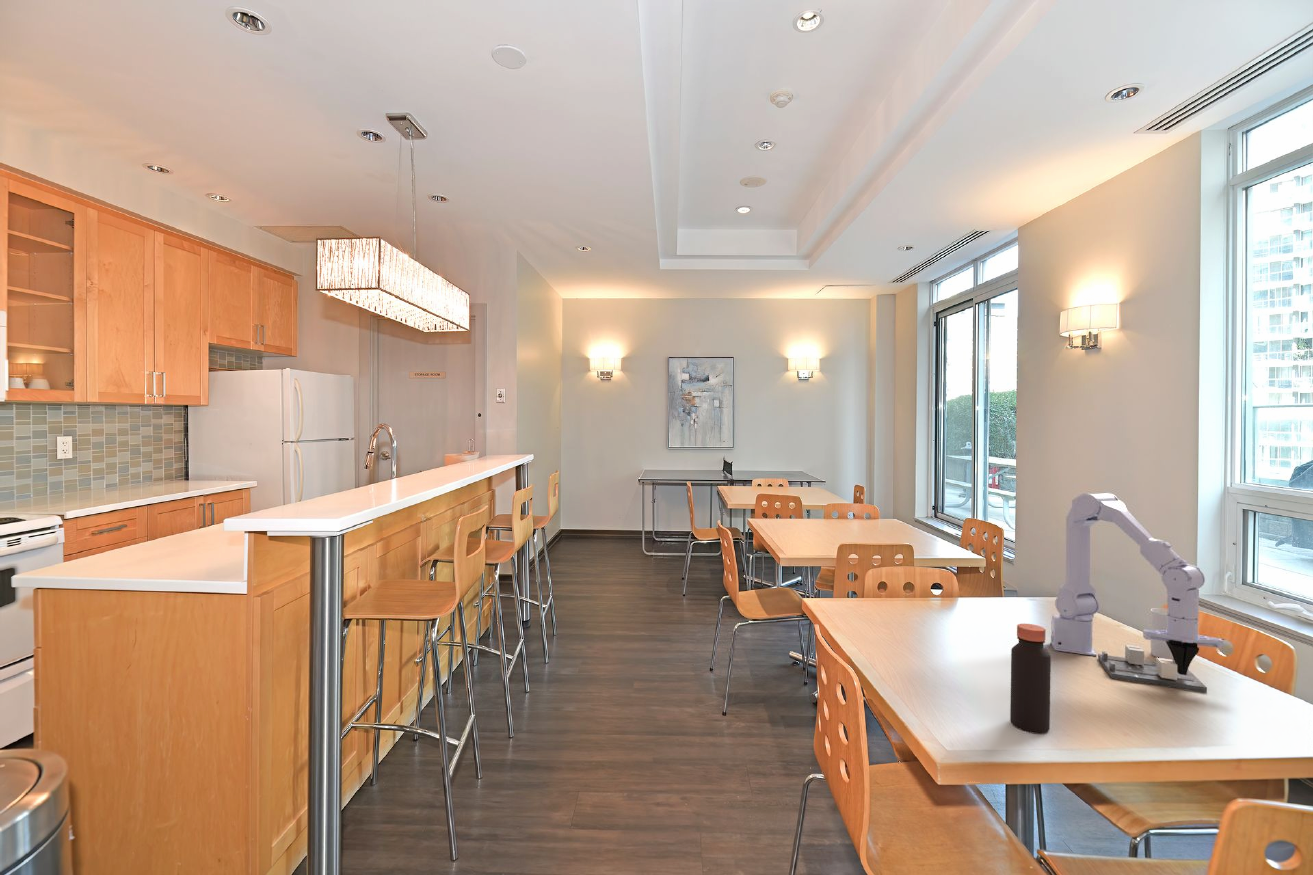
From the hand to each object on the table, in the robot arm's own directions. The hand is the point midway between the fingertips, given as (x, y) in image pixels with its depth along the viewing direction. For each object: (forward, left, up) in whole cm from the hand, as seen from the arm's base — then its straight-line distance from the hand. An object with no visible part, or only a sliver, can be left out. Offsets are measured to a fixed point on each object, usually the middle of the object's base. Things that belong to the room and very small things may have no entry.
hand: (1181, 673), depth 146 cm
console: (-5, +4, -3) cm, 7 cm away
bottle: (-35, -42, -3) cm, 55 cm away
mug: (+3, +24, -3) cm, 24 cm away
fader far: (-7, +8, -1) cm, 11 cm away
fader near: (-3, 0, -1) cm, 3 cm away
